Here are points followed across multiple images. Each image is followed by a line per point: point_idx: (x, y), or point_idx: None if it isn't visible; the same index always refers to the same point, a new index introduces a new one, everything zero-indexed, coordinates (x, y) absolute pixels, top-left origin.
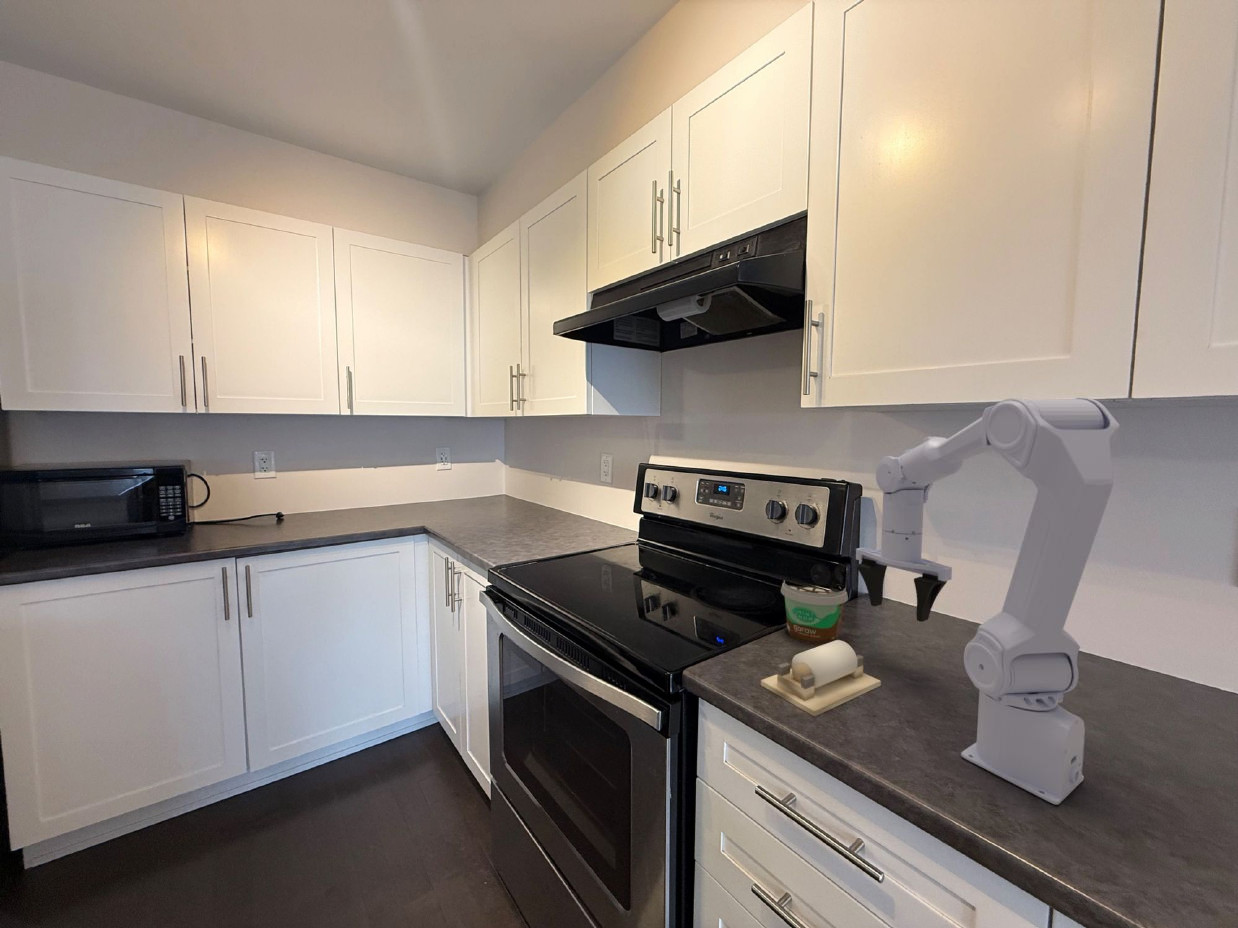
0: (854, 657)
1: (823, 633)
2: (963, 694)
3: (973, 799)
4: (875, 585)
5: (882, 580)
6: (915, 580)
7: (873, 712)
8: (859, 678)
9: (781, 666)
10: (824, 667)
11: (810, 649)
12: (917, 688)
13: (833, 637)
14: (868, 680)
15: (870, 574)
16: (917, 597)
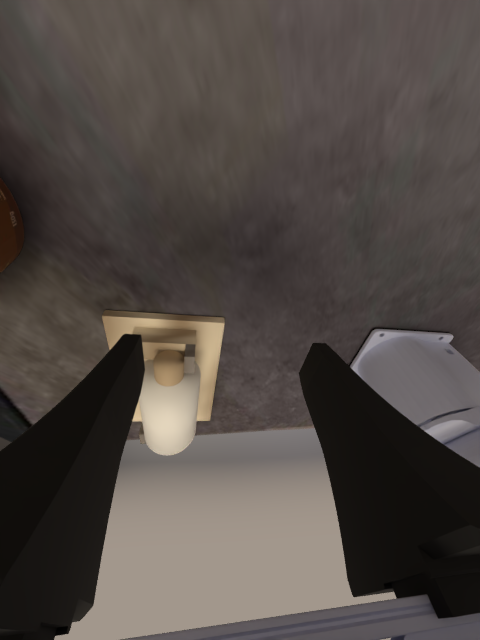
0: (197, 389)
1: (6, 260)
2: (342, 237)
3: None
4: (115, 450)
5: (96, 434)
6: (356, 584)
7: (249, 374)
8: (198, 340)
9: (145, 442)
10: (192, 433)
11: (153, 438)
12: (271, 280)
13: (11, 217)
14: (210, 335)
15: (99, 553)
16: (330, 468)
